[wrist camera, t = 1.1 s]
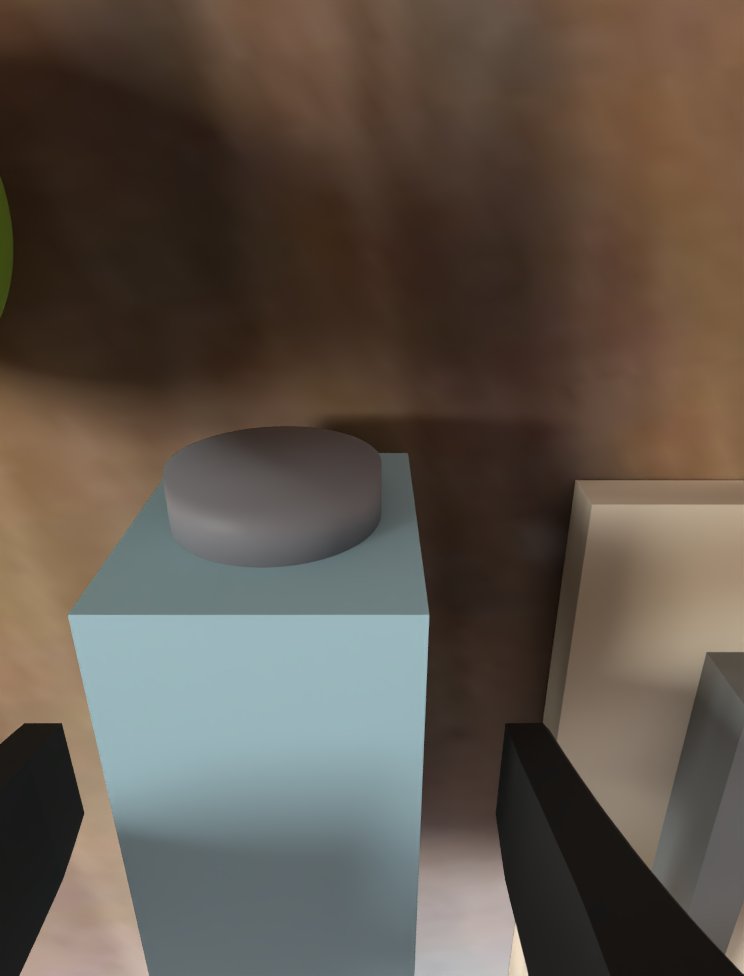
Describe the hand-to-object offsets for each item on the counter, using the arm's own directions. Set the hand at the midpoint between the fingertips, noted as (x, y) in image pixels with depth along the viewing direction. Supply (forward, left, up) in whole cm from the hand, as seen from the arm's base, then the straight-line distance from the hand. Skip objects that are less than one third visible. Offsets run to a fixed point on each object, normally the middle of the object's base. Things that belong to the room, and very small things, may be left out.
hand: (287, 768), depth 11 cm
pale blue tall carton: (0, 0, -3) cm, 3 cm away
